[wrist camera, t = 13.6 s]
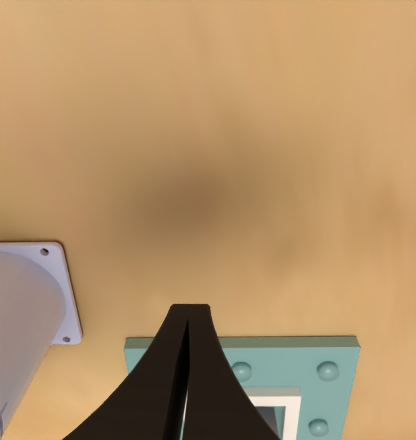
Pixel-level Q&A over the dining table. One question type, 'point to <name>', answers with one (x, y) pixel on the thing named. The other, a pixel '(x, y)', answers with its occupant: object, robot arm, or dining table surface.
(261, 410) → the brick stack
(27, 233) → the dining table surface
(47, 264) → the robot arm
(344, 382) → the baseplate
